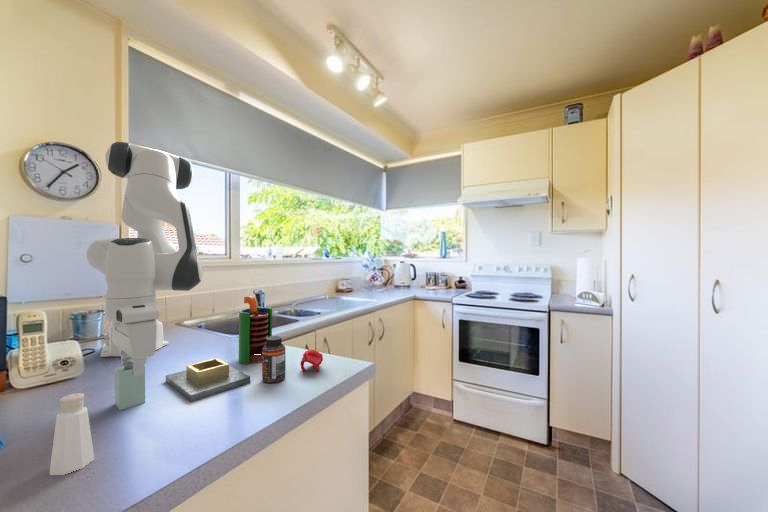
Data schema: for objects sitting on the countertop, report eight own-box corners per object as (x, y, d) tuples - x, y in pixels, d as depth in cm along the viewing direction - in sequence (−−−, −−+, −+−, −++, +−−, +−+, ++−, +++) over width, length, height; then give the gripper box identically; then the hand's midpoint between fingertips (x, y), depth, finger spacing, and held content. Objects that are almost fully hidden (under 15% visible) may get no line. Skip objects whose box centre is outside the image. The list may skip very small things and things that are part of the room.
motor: (257, 365, 94) (257, 299, 94) (231, 363, 96) (231, 298, 96) (275, 354, 104) (275, 295, 104) (251, 352, 106) (251, 294, 106)
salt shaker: (39, 480, 46) (38, 407, 46) (59, 458, 51) (59, 392, 51) (86, 470, 48) (86, 400, 48) (101, 450, 53) (101, 386, 53)
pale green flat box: (115, 403, 70) (114, 361, 70) (139, 396, 74) (139, 356, 74) (119, 410, 67) (119, 366, 67) (145, 402, 71) (144, 360, 71)
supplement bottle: (258, 379, 84) (257, 337, 83) (278, 373, 88) (278, 333, 88) (268, 386, 79) (268, 341, 79) (289, 379, 84) (289, 337, 84)
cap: (320, 364, 86) (327, 347, 91) (299, 356, 86) (308, 340, 91) (315, 380, 91) (323, 363, 96) (296, 373, 91) (305, 357, 96)
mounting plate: (165, 381, 82) (165, 364, 82) (220, 366, 93) (220, 351, 93) (191, 401, 71) (190, 382, 71) (250, 382, 82) (250, 365, 82)
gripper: (103, 306, 74) (104, 364, 74) (125, 316, 62) (125, 386, 62) (136, 303, 79) (137, 357, 79) (162, 311, 66) (163, 376, 66)
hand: (132, 370), depth 70 cm, fingers open, 8 cm apart
